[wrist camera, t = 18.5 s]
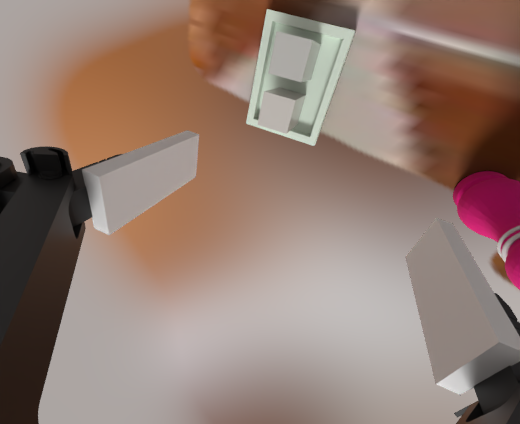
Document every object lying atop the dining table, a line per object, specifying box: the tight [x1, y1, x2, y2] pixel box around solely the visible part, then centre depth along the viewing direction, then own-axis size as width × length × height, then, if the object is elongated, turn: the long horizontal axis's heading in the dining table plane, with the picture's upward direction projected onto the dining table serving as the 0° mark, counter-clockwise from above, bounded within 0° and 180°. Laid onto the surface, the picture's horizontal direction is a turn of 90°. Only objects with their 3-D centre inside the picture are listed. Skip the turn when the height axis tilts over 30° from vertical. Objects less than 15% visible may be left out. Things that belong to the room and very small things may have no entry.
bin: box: [246, 9, 355, 146], centre depth 34 cm, size 14×11×2 cm
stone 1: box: [268, 31, 321, 82], centre depth 30 cm, size 4×4×7 cm
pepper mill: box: [453, 171, 520, 289], centre depth 26 cm, size 7×7×20 cm
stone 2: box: [258, 87, 306, 134], centre depth 33 cm, size 4×4×7 cm
